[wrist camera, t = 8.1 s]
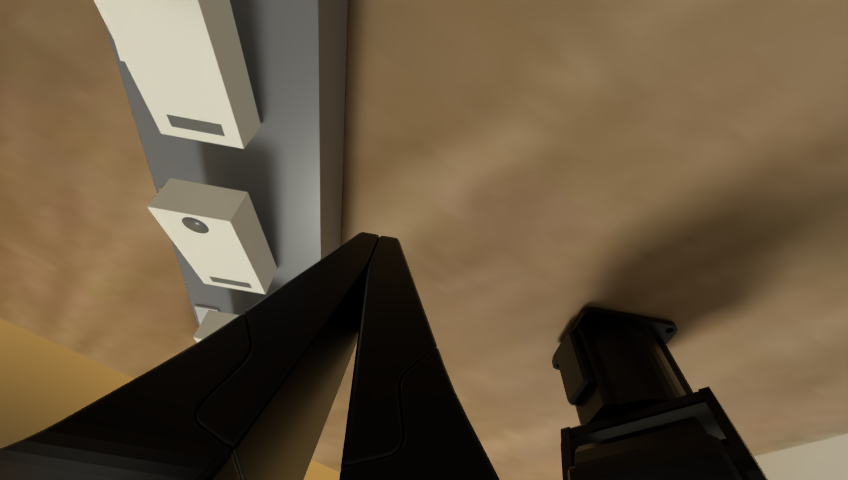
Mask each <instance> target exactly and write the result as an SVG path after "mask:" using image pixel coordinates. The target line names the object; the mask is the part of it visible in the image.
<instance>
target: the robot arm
mask: <svg viewBox="0 0 848 480" xmlns="http://www.w3.org/2000/svg"><path fill="white" fill-rule="evenodd" d="M588 314H590V315H588ZM677 330H678V328H677V327H676V325H675V323H674V322H672V321H667V320H661V319H656V318H650V317H644V316H639V315H633V314H628V313H622V312H616V311H611V310H605V309H600V308H594V307H587V308H584V309H583V310H582V311H581V313H580V314H579V316H578V318H577V319H576V321H575V323H574V325H573V326H572V328H571V330H570V331H569V332H568V333H567V334H566V336H565V338H564V339H563V341H562V343H561V344H560V346H559V348H558V350H557V351H556V355H555V356H554V358H553V360H552V364H553V367H554V368H555V369H557V370H560V372H561V376H562V380H563V384H564V388H565V392H566V396H567V399H568V402H569V403H570V404H571V405H574V406H576V410H577V413H578V417H579V421H580V424H581V425H579V426H576V427H573V428H570V427H567V428H563V429H561V456H562V473H563V480H768V479H767V478H766V476H765V474H764V473H763V471H762V469H761V468H760V466H759V465H758V463H757V461H756V460H755V458H754V457H753V455H752V453H751V452H750V450H749V449H748V447H747V445H746V444H745V442H744V441H743V439H742V437H741V436H740V434H739V433H738V431H737V430H736V428H735V426H734V425H733V423H732V422H731V420H730V419H729V417H728V416H727V414H726V412H725V411H724V409H723V408H722V406H721V405H720V403H719V402H718V400H717V399H716V397H715V395H714V394H713V392H712V391H711V389H710V388H709V387H705V388H702V389H698V390H699V391H698V392H695V393H693V391H692V389H691V388H690V386H689V384H688V382H687V381H686V379H685V377H684V375H683V374H682V372H681V370H680V368H679V367H678V365H677V363H676V362H675V360H674V358H673V356H672V355H671V353H670V351H669V349H668V348H667V346H666V344H667V343H668V341H669V340H670V339H671V338H672V337H673V335H674V334H675V333H676V332H677ZM357 340H358V341H357ZM356 342H357V348H356V356H355V364H354V371H353V379H352V387H351V394H350V402H349V410H348V417H347V425H346V433H345V440H344V448H343V456H342V463H341V472H340V480H499V478H498V476H497V474H496V472H495V470H494V468H493V466H492V464H491V462H490V460H489V458H488V456H487V454H486V452H485V451H484V449H483V447H482V445H481V443H480V441H479V439H478V437H477V435H476V433H475V431H474V429H473V427H472V425H471V423H470V422H469V420H468V418H467V416H466V413H465V411H464V409H463V407H462V405H461V403H460V401H459V399H458V397H457V395H456V393H455V391H454V388H453V386H452V383H451V381H450V378H449V376H448V373H447V371H446V369H445V366H444V363H443V361H442V358H441V355H440V352H439V350H438V348H436V347H437V345H436V342H435V339H434V336H433V334H432V331H431V328H430V325H429V322H428V320H427V317H426V314H425V311H424V309H423V306H422V303H421V300H420V298H419V295H418V292H417V289H416V286H415V284H414V281H413V278H412V275H411V273H410V270H409V267H408V264H407V261H406V259H405V256H404V253H403V250H402V248H401V245H400V242H399V240H398V239H397V238H393V237H387V236H381V237H380V238H379V236H378V235H376V234H370V233H365V232H361V233H359V234H358V235H356V236H355V237H353V238H352V239H350V240H349V241H347V242H346V243H344V244H343V245H342V246H340V247H339V248H337V249H336V250H334V251H333V252H331V253H330V254H328V255H327V256H325V257H324V258H322V259H321V260H320V261H318V262H317V263H315V264H314V265H312V266H311V267H309V268H308V269H306V270H305V271H303V272H302V273H300V274H299V275H297V276H296V277H295V278H293V279H292V280H290V281H289V282H287V283H286V284H284V285H283V286H281V287H280V288H278V289H277V290H275V291H274V292H273V293H271V294H270V295H268V296H267V297H265V298H264V299H262V300H261V301H259V302H258V303H256V304H255V305H253V306H252V307H251V308H249V309H248V310H246V311H245V315H244V314H240V315H239V316H237V317H236V318H234V319H233V320H231V321H230V322H228V323H227V324H225V325H224V326H222V327H221V328H219V329H218V330H216V331H215V332H213V333H211V334H210V335H208V336H207V337H205V338H204V339H202V340H201V341H199V342H198V343H196V344H194V345H193V346H191V347H189V348H188V349H186V350H184V351H182V352H181V353H179V354H177V355H176V356H174V357H172V358H171V359H169V360H167V361H165V362H164V363H162V364H160V365H159V366H157V367H155V368H153V369H152V370H150V371H148V372H146V373H144V374H143V375H141V376H139V377H137V378H136V379H134V380H132V381H130V382H129V383H127V384H125V385H123V386H121V387H120V388H118V389H116V390H114V391H113V392H111V393H109V394H107V395H105V396H104V397H102V398H100V399H98V400H97V401H95V402H93V403H91V404H90V405H88V406H86V407H84V408H82V409H81V410H79V411H77V412H75V413H74V414H72V415H70V416H68V417H66V418H65V419H63V420H61V421H59V422H57V423H55V424H54V425H52V426H50V427H48V428H46V429H44V430H42V431H40V432H38V433H36V434H33V435H31V436H29V437H27V438H25V439H23V440H20V441H18V442H15V443H13V444H10V445H8V446H5V447H3V448H0V480H303V479H304V476H305V474H306V471H307V469H308V466H309V463H310V461H311V458H312V456H313V453H314V451H315V448H316V446H317V443H318V440H319V438H320V435H321V433H322V430H323V428H324V425H325V422H326V420H327V417H328V415H329V412H330V409H331V407H332V404H333V402H334V399H335V397H336V394H337V391H338V389H339V386H340V384H341V381H342V379H343V376H344V373H345V371H346V368H347V366H348V363H349V360H350V358H351V355H352V353H353V350H354V348H355V345H356Z"/></svg>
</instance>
